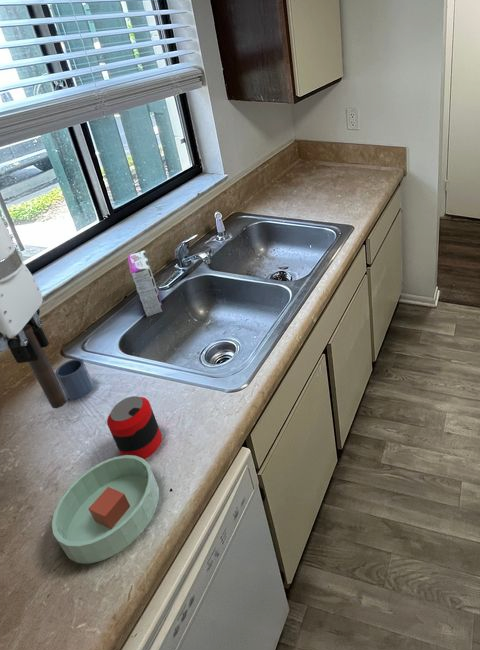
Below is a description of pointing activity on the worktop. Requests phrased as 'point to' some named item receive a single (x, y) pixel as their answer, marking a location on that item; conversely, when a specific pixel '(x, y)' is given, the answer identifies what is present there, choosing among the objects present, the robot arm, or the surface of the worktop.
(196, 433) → the worktop surface
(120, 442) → the soda can
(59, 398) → the stirring stick
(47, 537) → the worktop surface
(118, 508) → the block
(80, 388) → the utensil holder
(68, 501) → the bowl
